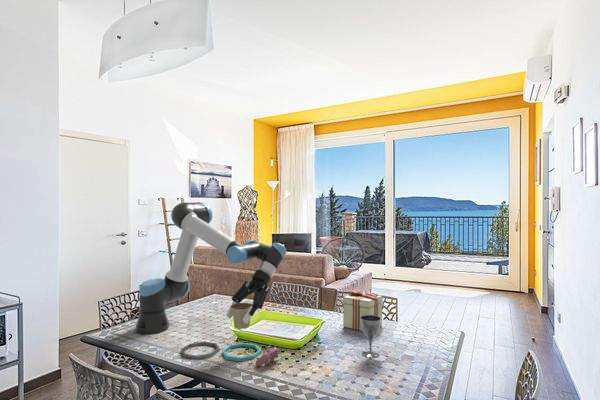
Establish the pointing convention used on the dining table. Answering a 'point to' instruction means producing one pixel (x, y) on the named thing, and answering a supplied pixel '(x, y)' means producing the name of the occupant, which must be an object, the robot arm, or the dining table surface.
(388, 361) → the dining table surface
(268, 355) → the pink toy animal
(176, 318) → the dining table surface
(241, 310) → the flower pot
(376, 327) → the wine glass
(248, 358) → the collar
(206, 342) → the collar
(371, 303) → the gift box
